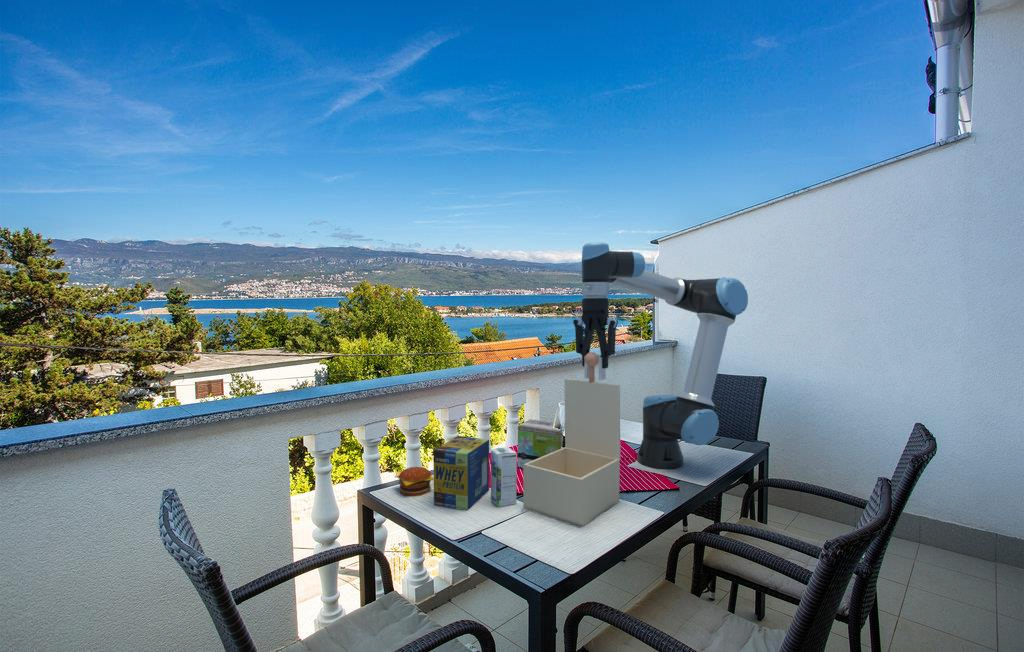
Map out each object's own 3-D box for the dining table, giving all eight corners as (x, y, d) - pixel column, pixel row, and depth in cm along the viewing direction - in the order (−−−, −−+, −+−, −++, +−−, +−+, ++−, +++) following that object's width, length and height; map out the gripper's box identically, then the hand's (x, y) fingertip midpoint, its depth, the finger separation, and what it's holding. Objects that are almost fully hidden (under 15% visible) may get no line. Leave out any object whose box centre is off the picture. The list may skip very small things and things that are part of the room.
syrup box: (490, 499, 137) (489, 448, 137) (509, 496, 140) (509, 446, 139) (497, 507, 132) (497, 454, 131) (517, 503, 134) (517, 451, 134)
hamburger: (407, 499, 138) (406, 476, 138) (394, 489, 146) (393, 467, 146) (437, 491, 143) (436, 469, 143) (423, 482, 151) (422, 461, 151)
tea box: (516, 468, 163) (516, 424, 162) (529, 460, 172) (529, 418, 171) (558, 476, 156) (558, 430, 155) (570, 466, 165) (570, 423, 164)
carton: (564, 486, 147) (564, 447, 146) (619, 502, 135) (619, 459, 135) (523, 508, 131) (523, 464, 131) (581, 527, 120) (581, 479, 119)
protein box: (433, 505, 134) (432, 449, 133) (458, 485, 148) (457, 435, 147) (467, 511, 130) (467, 453, 129) (490, 490, 144) (490, 438, 144)
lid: (563, 448, 145) (570, 444, 148) (616, 460, 134) (623, 456, 137) (561, 351, 143) (569, 349, 146) (616, 355, 132) (623, 353, 135)
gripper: (563, 297, 142) (563, 377, 144) (616, 297, 132) (615, 383, 133) (576, 297, 148) (576, 374, 149) (628, 297, 137) (628, 380, 139)
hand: (595, 378), depth 141 cm, fingers closed on lid, 4 cm apart
